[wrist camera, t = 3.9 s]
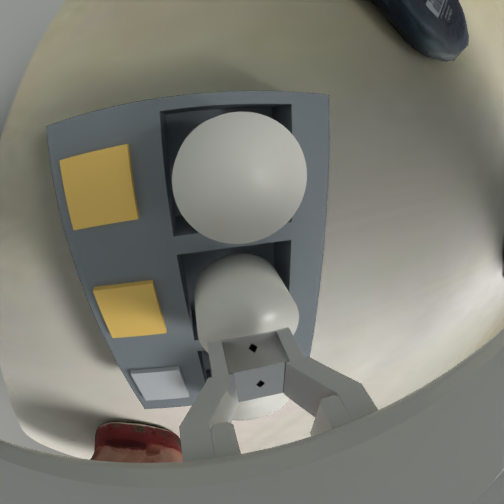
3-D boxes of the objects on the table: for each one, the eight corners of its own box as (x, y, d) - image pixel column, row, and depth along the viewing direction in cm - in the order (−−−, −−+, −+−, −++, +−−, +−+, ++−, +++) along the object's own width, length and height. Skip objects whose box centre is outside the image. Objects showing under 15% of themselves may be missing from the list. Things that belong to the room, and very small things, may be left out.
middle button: (280, 247, 12) (302, 277, 10) (279, 318, 14) (295, 352, 11) (187, 260, 11) (189, 294, 9) (200, 331, 13) (205, 369, 11)
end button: (280, 114, 9) (307, 112, 7) (281, 212, 11) (304, 236, 9) (171, 120, 9) (165, 118, 6) (182, 223, 10) (181, 252, 8)
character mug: (252, 412, 23) (293, 536, 11) (234, 454, 28) (258, 542, 16) (53, 398, 18) (37, 522, 5) (84, 446, 22) (83, 536, 10)
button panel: (296, 100, 12) (332, 94, 9) (288, 349, 20) (306, 386, 16) (78, 124, 10) (42, 126, 7) (146, 371, 18) (144, 412, 14)
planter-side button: (278, 339, 14) (293, 373, 12) (276, 381, 16) (287, 411, 14) (205, 352, 14) (211, 389, 11) (215, 392, 15) (221, 424, 13)
